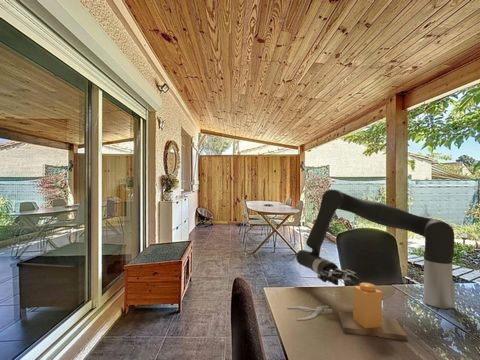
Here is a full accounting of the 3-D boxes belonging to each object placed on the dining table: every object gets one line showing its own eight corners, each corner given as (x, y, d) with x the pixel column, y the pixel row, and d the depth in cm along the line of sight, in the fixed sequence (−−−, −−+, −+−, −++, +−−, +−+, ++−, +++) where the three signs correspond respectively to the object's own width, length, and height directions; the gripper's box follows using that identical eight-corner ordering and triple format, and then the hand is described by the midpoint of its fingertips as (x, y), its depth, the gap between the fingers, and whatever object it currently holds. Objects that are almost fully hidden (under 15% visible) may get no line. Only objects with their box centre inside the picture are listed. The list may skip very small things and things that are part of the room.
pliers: (286, 304, 102) (323, 301, 105) (286, 308, 102) (323, 305, 105) (297, 317, 92) (337, 313, 95) (297, 321, 92) (337, 318, 95)
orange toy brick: (368, 317, 92) (369, 281, 93) (381, 326, 87) (382, 288, 87) (353, 319, 91) (353, 282, 91) (365, 328, 85) (365, 289, 85)
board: (394, 322, 92) (394, 303, 92) (406, 340, 82) (407, 318, 82) (338, 315, 96) (339, 297, 96) (343, 332, 86) (343, 311, 86)
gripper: (309, 260, 114) (330, 272, 98) (339, 259, 117) (364, 270, 101) (309, 278, 114) (330, 293, 98) (339, 276, 117) (364, 290, 101)
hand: (347, 281), depth 100 cm, fingers open, 8 cm apart
